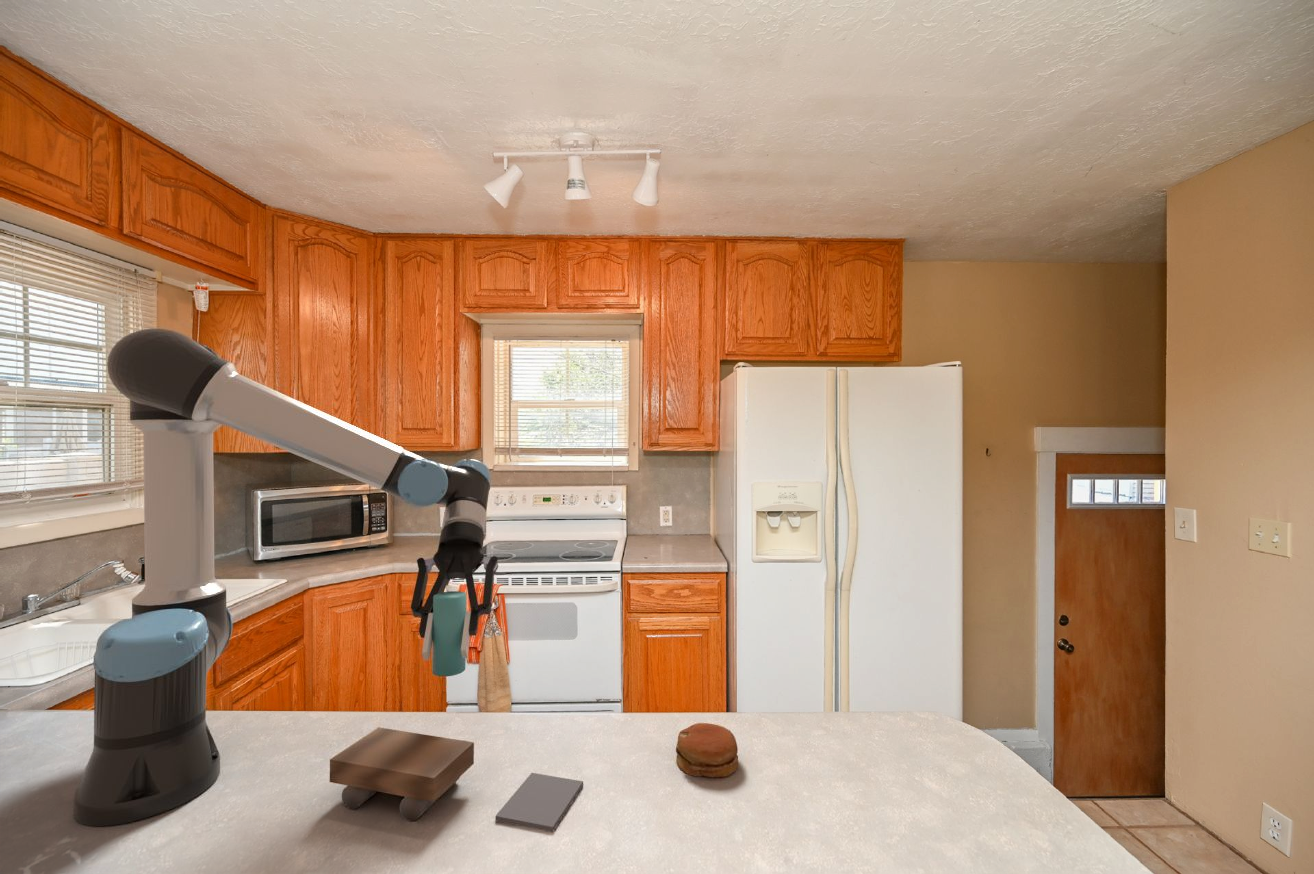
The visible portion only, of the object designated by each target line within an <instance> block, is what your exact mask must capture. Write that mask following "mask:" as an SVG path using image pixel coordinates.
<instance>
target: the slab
mask: <svg viewBox="0 0 1314 874" xmlns="http://www.w3.org/2000/svg"><path fill="white" fill-rule="evenodd" d="M474 755H475V743H474V742H473V741H467V740H462V739H461V740H460V739H455V738H449V737H441V736H438V735H437V736H436V735H431V734H430V735H429V734H424V733H418V732H410V731H404V730H400V729H399V730H397V729H393V728H392V729H391V728H386V727H379V726H378V727H377V728H376V729H373V730H372V731H371V732H370V733H368V734H366V735H365V736H363V737H362V738H360V739H359V740H356V741H355V742H354V743H352V744H351V745H349V746H348V747H347V748H345V749H344V750H342V751H340V752H339V753H337V754H336V755H334V756H333V757H331V758H329V783H332V784H337V785H342V786H346V787H345V788H343V790H342V793H341V800H342V803H343V804H344V806H345V807H346V808H348V809H349V810H356V809H357V808H359V807H360V806H361V805H362V804H363V803H365V802H366V801H367V800H369V799H371V797H373V795H375V794H377V792H379V793H384V794H390V795H394V796H395V795H396V796H400V797H404V798H403V799H402V800H401V801H400V803H399V812H400V814H401V816H402V817H403V819H405V820H406V821H409V822H415V821H416V820H418V819H419V818H420V817H421V816H422V815H423V814H424V813H425V812H426V811H427V810H428V809H429V808H430V807H431V806H432V805H433V804H434V803H435V802H436V801H438V799H440V798H441V797H442V795H444V794H445V793H446V792H447V791H448V790H449V789H450V788H451V787H452V786H453V785H454V784H455V783H457V781H458V780H460V778H461V776H463V774H464V773H465V772H467V771H468V770H469V769H470V768H471V767H472V766H473V765H474V761H475V759H474V758H475V757H474Z"/></svg>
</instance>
